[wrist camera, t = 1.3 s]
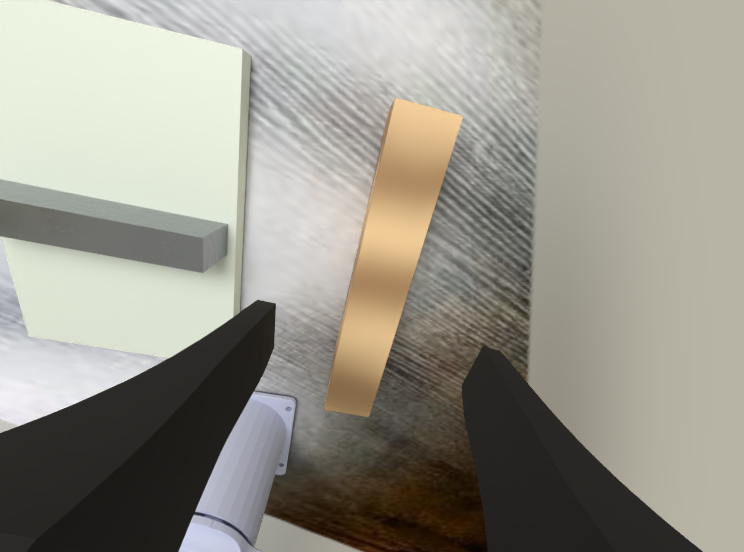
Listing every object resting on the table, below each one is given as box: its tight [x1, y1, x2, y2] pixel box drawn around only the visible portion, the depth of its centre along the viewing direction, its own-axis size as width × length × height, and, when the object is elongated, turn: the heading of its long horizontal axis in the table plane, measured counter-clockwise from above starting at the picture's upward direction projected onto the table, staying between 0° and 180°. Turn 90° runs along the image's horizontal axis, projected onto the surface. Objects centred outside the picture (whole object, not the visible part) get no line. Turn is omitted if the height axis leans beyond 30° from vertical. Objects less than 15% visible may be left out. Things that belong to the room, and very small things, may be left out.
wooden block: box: [324, 98, 463, 417], centre depth 18 cm, size 18×3×5 cm, turn 167°
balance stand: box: [0, 0, 251, 358], centre depth 17 cm, size 20×14×4 cm
